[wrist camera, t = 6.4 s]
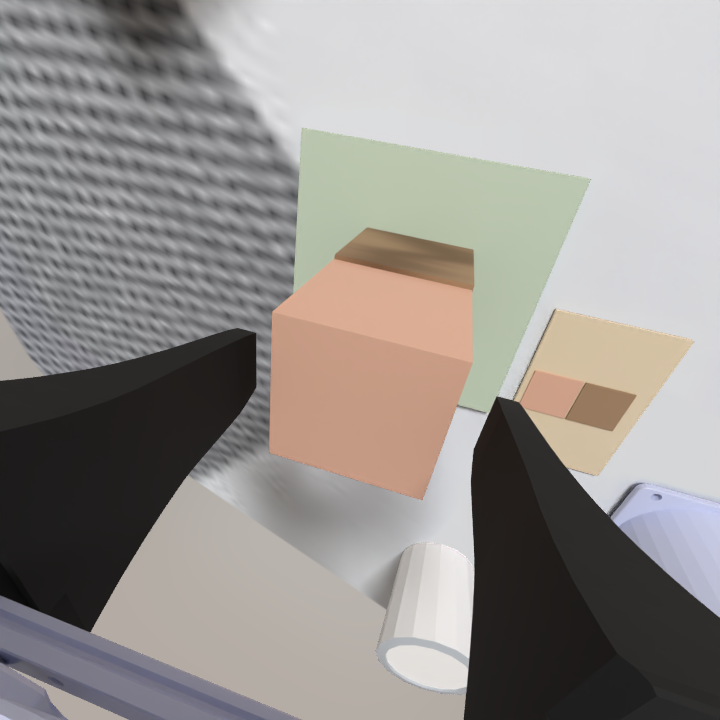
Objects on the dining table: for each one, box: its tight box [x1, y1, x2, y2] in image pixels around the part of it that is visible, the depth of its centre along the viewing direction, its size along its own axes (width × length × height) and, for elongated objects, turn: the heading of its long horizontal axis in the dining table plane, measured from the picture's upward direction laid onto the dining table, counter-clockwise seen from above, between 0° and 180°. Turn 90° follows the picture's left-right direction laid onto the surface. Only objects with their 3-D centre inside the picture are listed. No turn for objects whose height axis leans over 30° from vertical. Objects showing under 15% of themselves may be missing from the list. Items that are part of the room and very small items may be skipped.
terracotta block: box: [269, 259, 473, 500], centre depth 12 cm, size 5×5×5 cm
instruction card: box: [513, 309, 694, 476], centre depth 20 cm, size 6×9×1 cm, turn 171°
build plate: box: [293, 128, 591, 413], centre depth 19 cm, size 12×12×1 cm
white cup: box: [376, 542, 474, 695], centre depth 27 cm, size 7×7×7 cm
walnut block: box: [334, 227, 474, 292], centre depth 16 cm, size 5×5×5 cm
